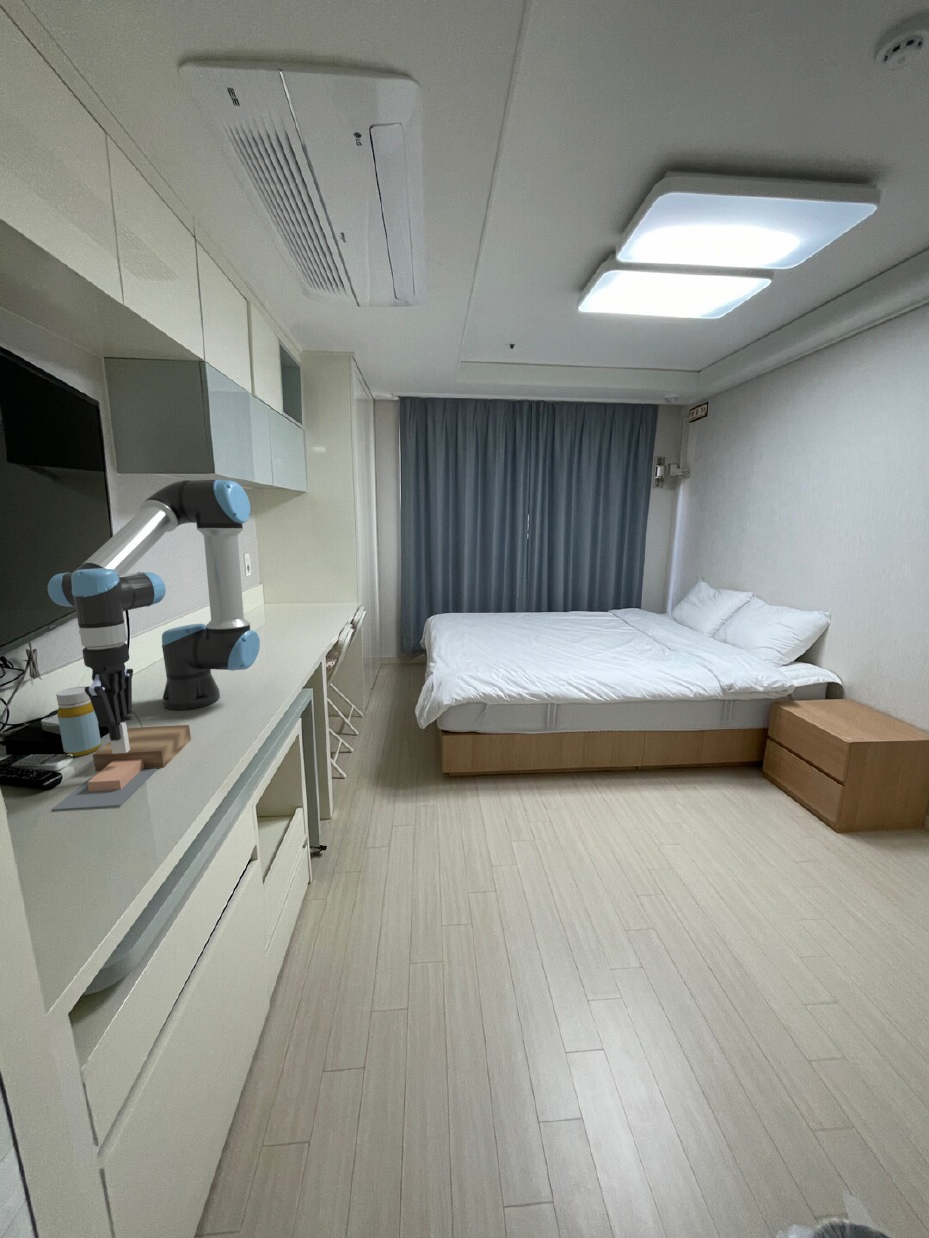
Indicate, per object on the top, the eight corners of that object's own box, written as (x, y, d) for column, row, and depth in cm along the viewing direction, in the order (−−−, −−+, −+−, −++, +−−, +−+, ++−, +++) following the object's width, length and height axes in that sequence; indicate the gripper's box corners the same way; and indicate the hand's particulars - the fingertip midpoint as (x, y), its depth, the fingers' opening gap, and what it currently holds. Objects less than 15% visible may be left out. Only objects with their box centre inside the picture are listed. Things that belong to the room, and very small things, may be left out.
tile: (114, 768, 106) (113, 760, 106) (144, 767, 107) (142, 758, 106) (88, 791, 97) (87, 782, 97) (121, 789, 98) (119, 780, 98)
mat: (97, 773, 105) (97, 771, 105) (156, 770, 106) (156, 768, 106) (51, 811, 91) (51, 809, 91) (120, 806, 93) (120, 804, 93)
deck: (130, 742, 119) (128, 727, 119) (191, 739, 121) (189, 724, 120) (95, 771, 106) (92, 754, 105) (163, 767, 107) (161, 750, 107)
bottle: (105, 742, 120) (96, 684, 117) (96, 754, 113) (86, 693, 110) (71, 746, 117) (60, 687, 114) (59, 759, 111) (48, 697, 108)
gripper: (104, 637, 105) (120, 739, 109) (63, 653, 92) (82, 767, 97) (141, 636, 106) (155, 737, 110) (105, 652, 93) (122, 765, 98)
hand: (121, 751), depth 104 cm, fingers closed
